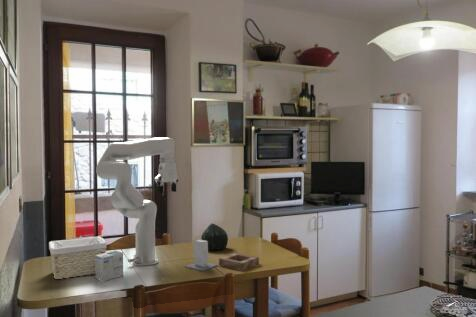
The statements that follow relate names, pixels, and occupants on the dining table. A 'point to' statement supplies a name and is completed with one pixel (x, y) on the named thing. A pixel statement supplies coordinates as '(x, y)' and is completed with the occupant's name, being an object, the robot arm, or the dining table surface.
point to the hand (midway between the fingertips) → (167, 192)
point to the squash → (215, 237)
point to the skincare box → (201, 253)
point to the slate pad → (201, 267)
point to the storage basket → (75, 256)
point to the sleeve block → (238, 261)
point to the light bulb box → (109, 265)
